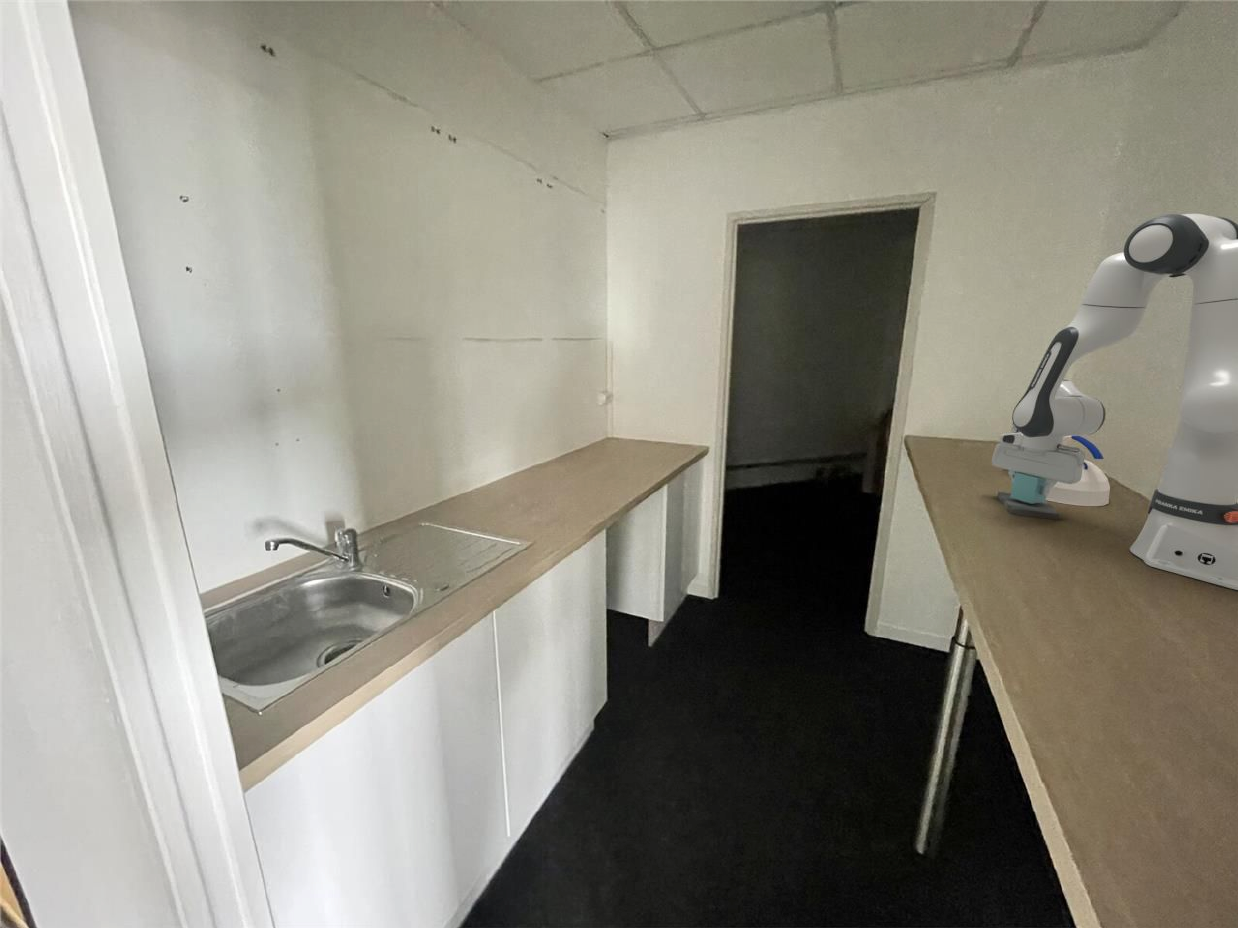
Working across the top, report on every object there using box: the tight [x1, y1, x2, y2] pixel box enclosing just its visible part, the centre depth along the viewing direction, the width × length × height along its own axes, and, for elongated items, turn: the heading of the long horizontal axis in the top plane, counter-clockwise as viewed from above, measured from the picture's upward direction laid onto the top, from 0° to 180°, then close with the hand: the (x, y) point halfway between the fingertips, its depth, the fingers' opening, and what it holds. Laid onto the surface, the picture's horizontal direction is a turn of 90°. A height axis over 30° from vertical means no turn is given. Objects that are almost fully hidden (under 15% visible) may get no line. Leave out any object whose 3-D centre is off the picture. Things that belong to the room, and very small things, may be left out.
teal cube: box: [1010, 472, 1048, 504], centre depth 141 cm, size 6×6×7 cm
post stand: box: [996, 491, 1060, 521], centre depth 141 cm, size 16×10×8 cm, turn 156°
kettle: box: [1045, 436, 1111, 507], centre depth 151 cm, size 20×21×18 cm
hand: (1029, 490), depth 141 cm, fingers closed on teal cube, 5 cm apart
